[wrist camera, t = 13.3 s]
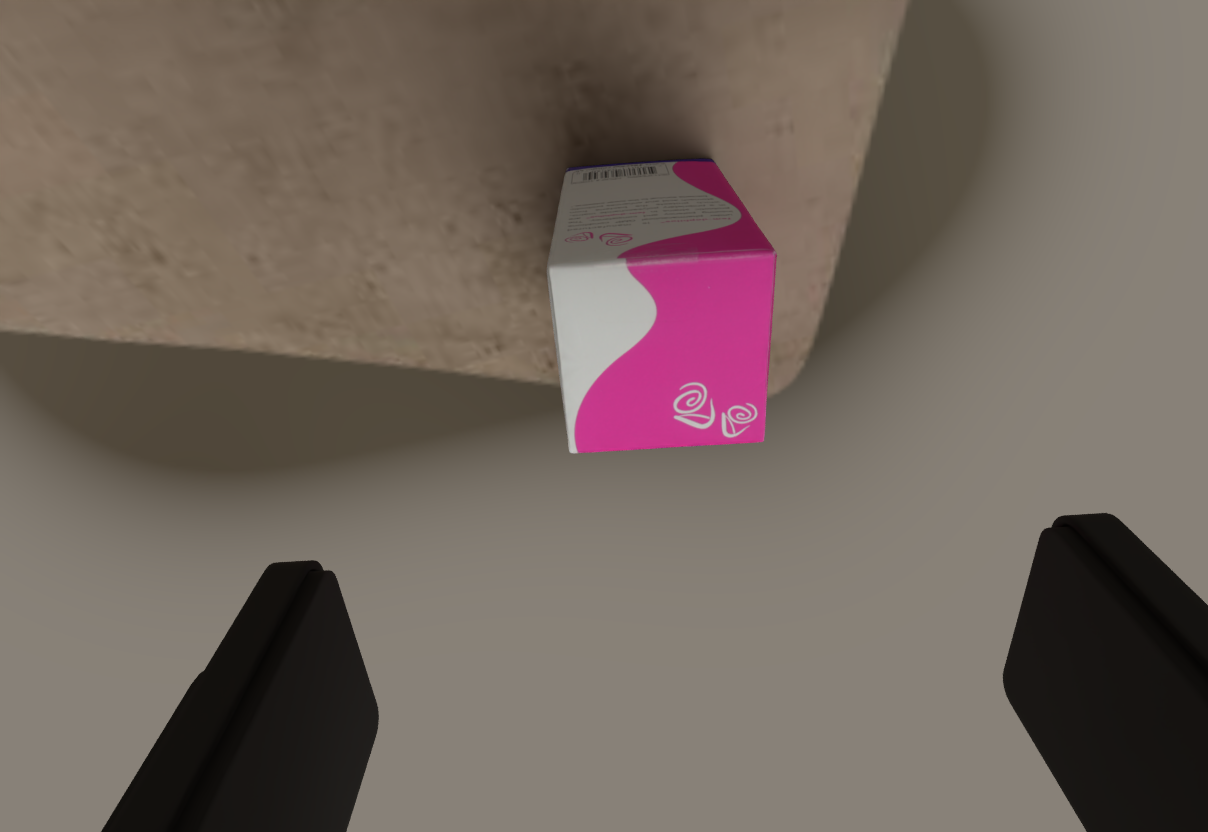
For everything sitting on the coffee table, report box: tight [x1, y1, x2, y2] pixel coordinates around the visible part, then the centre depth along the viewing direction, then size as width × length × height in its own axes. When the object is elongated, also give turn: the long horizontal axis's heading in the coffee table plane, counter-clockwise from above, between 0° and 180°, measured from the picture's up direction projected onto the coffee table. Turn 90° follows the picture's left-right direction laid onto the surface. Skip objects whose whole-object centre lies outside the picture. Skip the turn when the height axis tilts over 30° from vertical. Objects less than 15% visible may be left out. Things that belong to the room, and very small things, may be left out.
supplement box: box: [547, 159, 777, 453], centre depth 24 cm, size 6×6×12 cm
